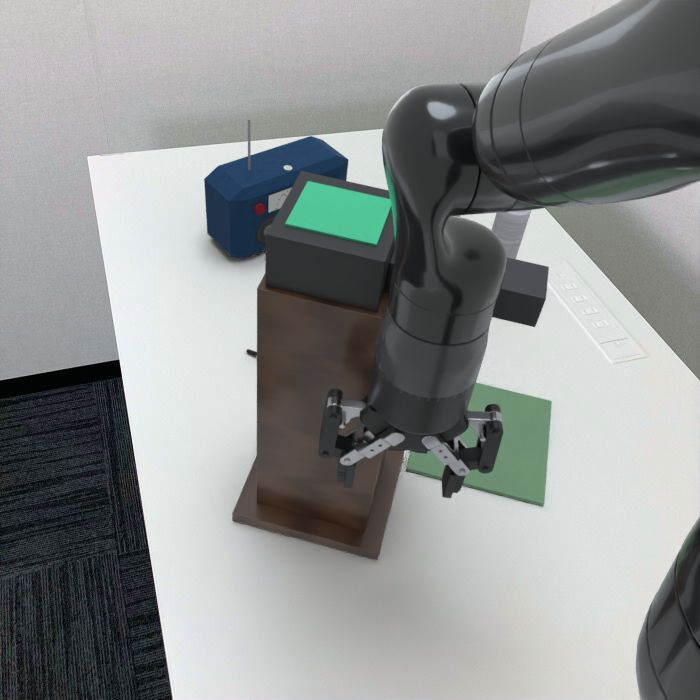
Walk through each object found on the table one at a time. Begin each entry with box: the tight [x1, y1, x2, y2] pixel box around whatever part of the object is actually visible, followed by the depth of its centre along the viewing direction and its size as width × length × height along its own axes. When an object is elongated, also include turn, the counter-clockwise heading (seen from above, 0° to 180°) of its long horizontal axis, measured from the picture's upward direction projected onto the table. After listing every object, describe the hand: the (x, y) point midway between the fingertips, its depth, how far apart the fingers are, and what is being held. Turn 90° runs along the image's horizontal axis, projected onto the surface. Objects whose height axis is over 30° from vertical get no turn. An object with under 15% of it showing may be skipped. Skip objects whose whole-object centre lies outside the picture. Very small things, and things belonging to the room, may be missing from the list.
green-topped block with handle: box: [264, 171, 550, 328], centre depth 57 cm, size 21×9×5 cm, turn 76°
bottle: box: [491, 210, 532, 259], centre depth 102 cm, size 4×4×20 cm
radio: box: [203, 118, 349, 259], centre depth 107 cm, size 21×9×20 cm, turn 129°
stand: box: [231, 273, 405, 561], centre depth 71 cm, size 16×14×32 cm
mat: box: [405, 382, 553, 507], centre depth 90 cm, size 16×16×1 cm
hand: (397, 484), depth 64 cm, fingers open, 8 cm apart
